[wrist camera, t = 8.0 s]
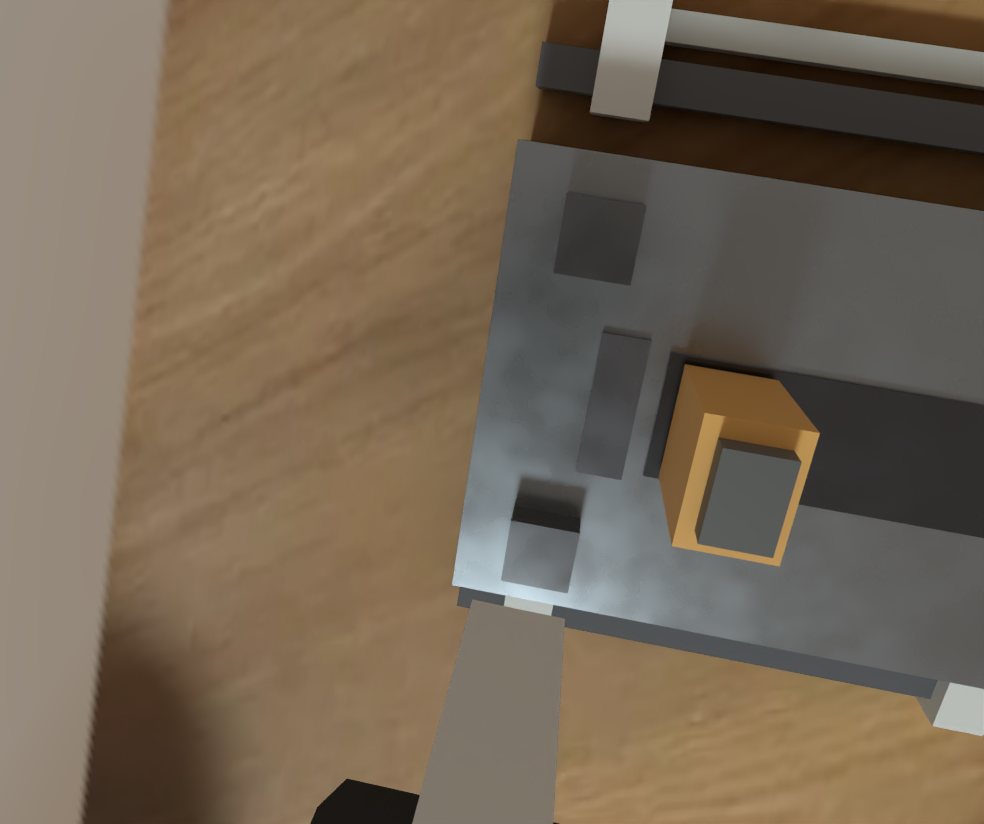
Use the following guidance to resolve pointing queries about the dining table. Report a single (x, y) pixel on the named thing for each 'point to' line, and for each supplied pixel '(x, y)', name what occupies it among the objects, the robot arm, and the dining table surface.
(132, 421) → the dining table surface
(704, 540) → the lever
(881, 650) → the panel
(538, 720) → the robot arm
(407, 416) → the dining table surface
